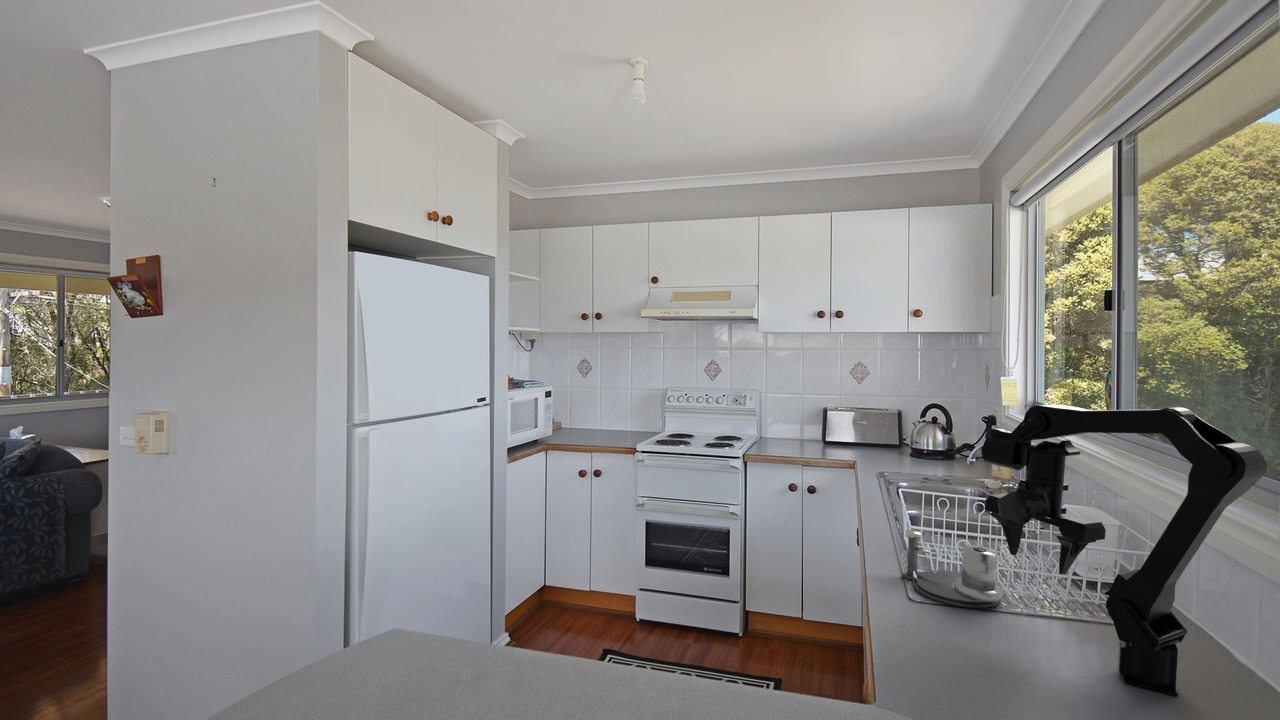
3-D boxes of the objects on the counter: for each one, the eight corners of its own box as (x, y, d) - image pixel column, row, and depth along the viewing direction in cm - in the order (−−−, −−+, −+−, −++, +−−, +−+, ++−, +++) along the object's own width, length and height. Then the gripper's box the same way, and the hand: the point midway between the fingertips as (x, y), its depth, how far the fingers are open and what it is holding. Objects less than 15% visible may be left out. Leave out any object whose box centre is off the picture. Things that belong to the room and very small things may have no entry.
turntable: (1003, 588, 136) (1004, 580, 136) (998, 615, 123) (998, 606, 123) (920, 572, 145) (921, 564, 145) (906, 595, 131) (907, 586, 131)
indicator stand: (900, 577, 141) (902, 531, 141) (908, 574, 143) (910, 528, 143) (924, 585, 137) (927, 537, 137) (932, 581, 139) (934, 534, 139)
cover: (1003, 591, 130) (1006, 548, 130) (1000, 605, 123) (1003, 559, 123) (956, 581, 134) (958, 539, 134) (951, 595, 127) (953, 550, 127)
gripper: (965, 466, 120) (959, 550, 121) (1064, 493, 103) (1056, 590, 104) (1009, 463, 124) (1002, 544, 125) (1111, 489, 107) (1103, 582, 108)
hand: (1037, 564), depth 116 cm, fingers open, 9 cm apart
